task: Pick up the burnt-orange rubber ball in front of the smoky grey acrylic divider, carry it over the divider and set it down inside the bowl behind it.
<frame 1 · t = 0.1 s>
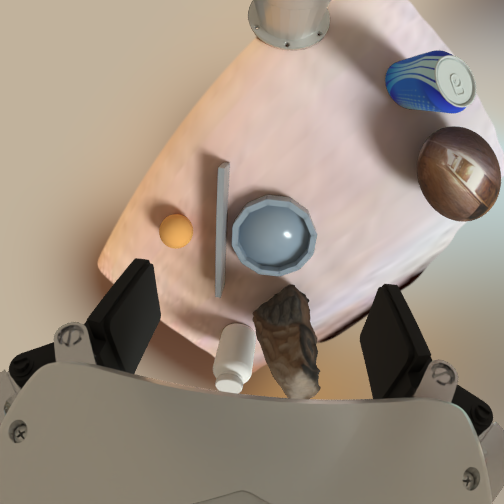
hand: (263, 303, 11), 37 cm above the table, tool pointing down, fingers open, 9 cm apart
pill bottle: (239, 334, 63), on the table
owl: (283, 309, 58), on the table
beer can: (404, 85, 35), on the table
ball: (176, 231, 48), point 3 cm above the table
bowl: (274, 234, 50), on the table
divider: (223, 228, 50), on the table
wooden sphere: (437, 163, 40), on the table
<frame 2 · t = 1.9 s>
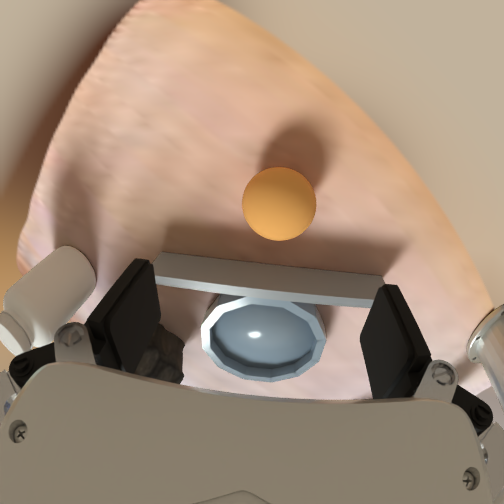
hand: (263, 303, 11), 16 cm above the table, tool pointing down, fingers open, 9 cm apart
pill bottle: (75, 268, 33), on the table
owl: (141, 331, 37), on the table
ball: (279, 203, 23), point 3 cm above the table
bowl: (263, 331, 33), on the table
divider: (271, 268, 29), on the table
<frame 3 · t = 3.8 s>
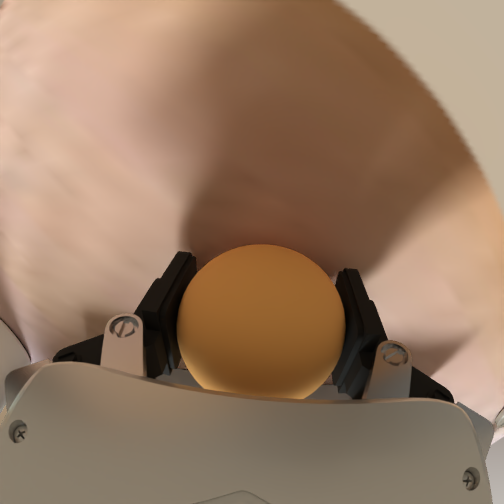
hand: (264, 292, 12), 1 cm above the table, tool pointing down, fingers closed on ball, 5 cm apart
pill bottle: (7, 337, 20), on the table
ball: (261, 327, 10), point 3 cm above the table, touching gripper
divider: (253, 384, 16), on the table
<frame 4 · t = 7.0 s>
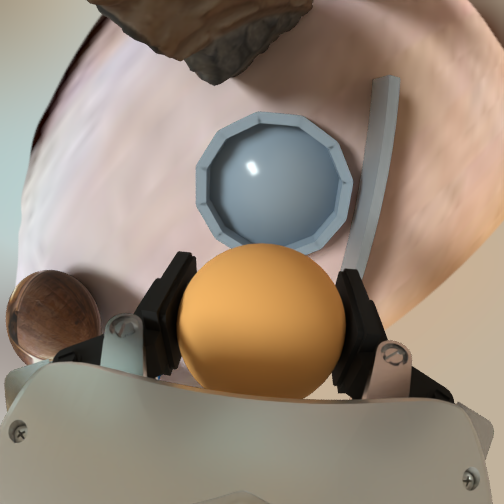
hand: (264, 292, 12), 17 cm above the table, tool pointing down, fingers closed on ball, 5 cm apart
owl: (243, 17, 19), on the table
ball: (261, 327, 10), point 20 cm above the table, touching gripper
bowl: (273, 184, 27), on the table
divider: (361, 196, 27), on the table
wooden sphere: (79, 292, 37), on the table
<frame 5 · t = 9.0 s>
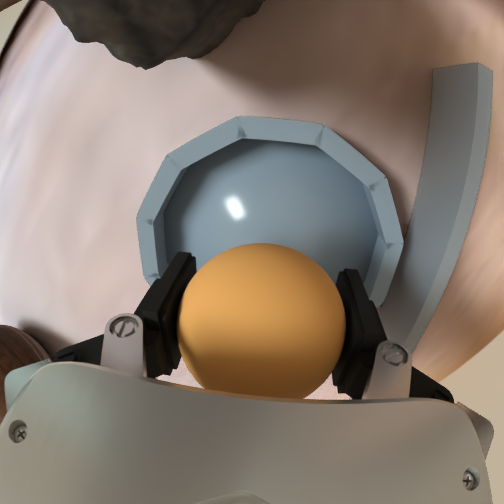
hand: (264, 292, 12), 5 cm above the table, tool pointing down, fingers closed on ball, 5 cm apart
ball: (261, 327, 10), point 8 cm above the table, touching gripper
bowl: (269, 241, 17), on the table
divider: (406, 256, 16), on the table
wooden sphere: (37, 345, 27), on the table
when the fingers open (3 cm above the table, at t = 10.5 s): ball drops 1 cm, resting on bowl.
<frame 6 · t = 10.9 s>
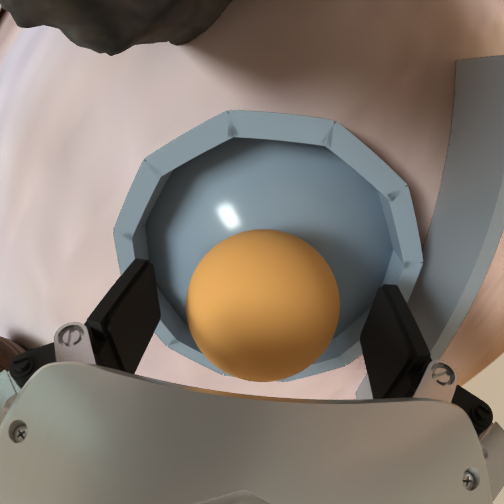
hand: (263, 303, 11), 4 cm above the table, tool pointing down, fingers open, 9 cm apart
ball: (263, 305, 11), point 4 cm above the table, touching bowl
bowl: (268, 256, 14), on the table
divider: (421, 271, 14), on the table
wooden sphere: (28, 355, 25), on the table
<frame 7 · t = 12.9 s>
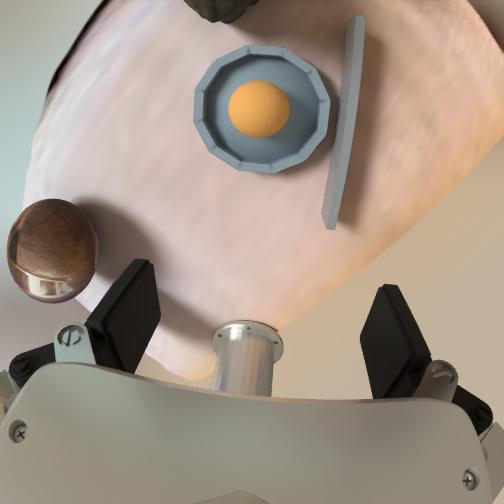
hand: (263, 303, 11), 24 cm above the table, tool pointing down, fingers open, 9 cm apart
ball: (258, 108, 25), point 4 cm above the table, touching bowl
bowl: (262, 107, 28), on the table
divider: (341, 118, 28), on the table
wooden sphere: (79, 226, 39), on the table
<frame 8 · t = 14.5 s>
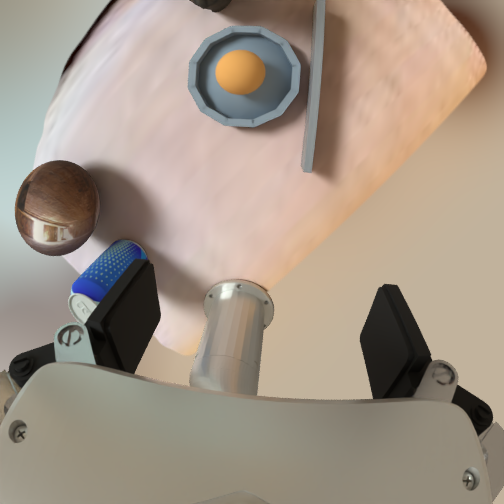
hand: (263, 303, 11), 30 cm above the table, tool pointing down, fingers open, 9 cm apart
beer can: (131, 256, 48), on the table
ball: (240, 72, 29), point 4 cm above the table, touching bowl
bowl: (245, 76, 32), on the table
divider: (312, 82, 32), on the table
wooden sphere: (83, 192, 42), on the table
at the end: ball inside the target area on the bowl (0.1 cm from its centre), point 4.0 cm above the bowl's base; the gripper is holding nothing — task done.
